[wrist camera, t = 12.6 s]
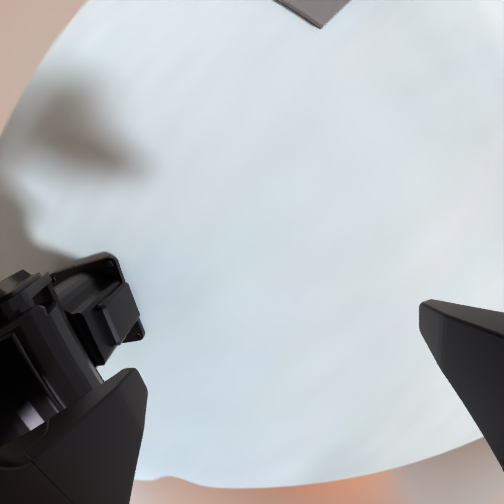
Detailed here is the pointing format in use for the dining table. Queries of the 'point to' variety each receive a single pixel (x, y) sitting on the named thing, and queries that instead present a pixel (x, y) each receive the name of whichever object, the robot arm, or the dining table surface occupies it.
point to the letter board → (316, 9)
